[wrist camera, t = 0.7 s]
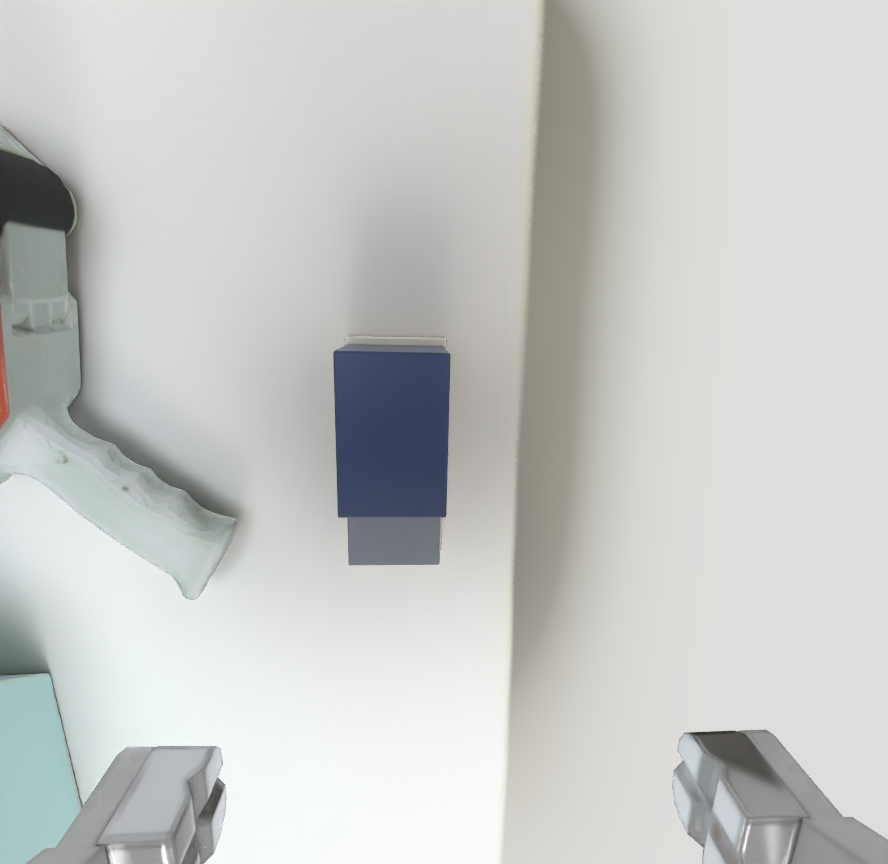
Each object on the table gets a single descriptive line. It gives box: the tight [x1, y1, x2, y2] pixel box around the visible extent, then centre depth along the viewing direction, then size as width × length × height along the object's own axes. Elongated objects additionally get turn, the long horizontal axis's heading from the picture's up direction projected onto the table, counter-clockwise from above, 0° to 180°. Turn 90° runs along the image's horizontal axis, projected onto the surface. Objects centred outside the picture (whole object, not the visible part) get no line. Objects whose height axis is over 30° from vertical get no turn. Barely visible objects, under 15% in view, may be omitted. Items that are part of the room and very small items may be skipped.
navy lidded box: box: [333, 336, 450, 565], centre depth 21 cm, size 10×4×5 cm, turn 179°
